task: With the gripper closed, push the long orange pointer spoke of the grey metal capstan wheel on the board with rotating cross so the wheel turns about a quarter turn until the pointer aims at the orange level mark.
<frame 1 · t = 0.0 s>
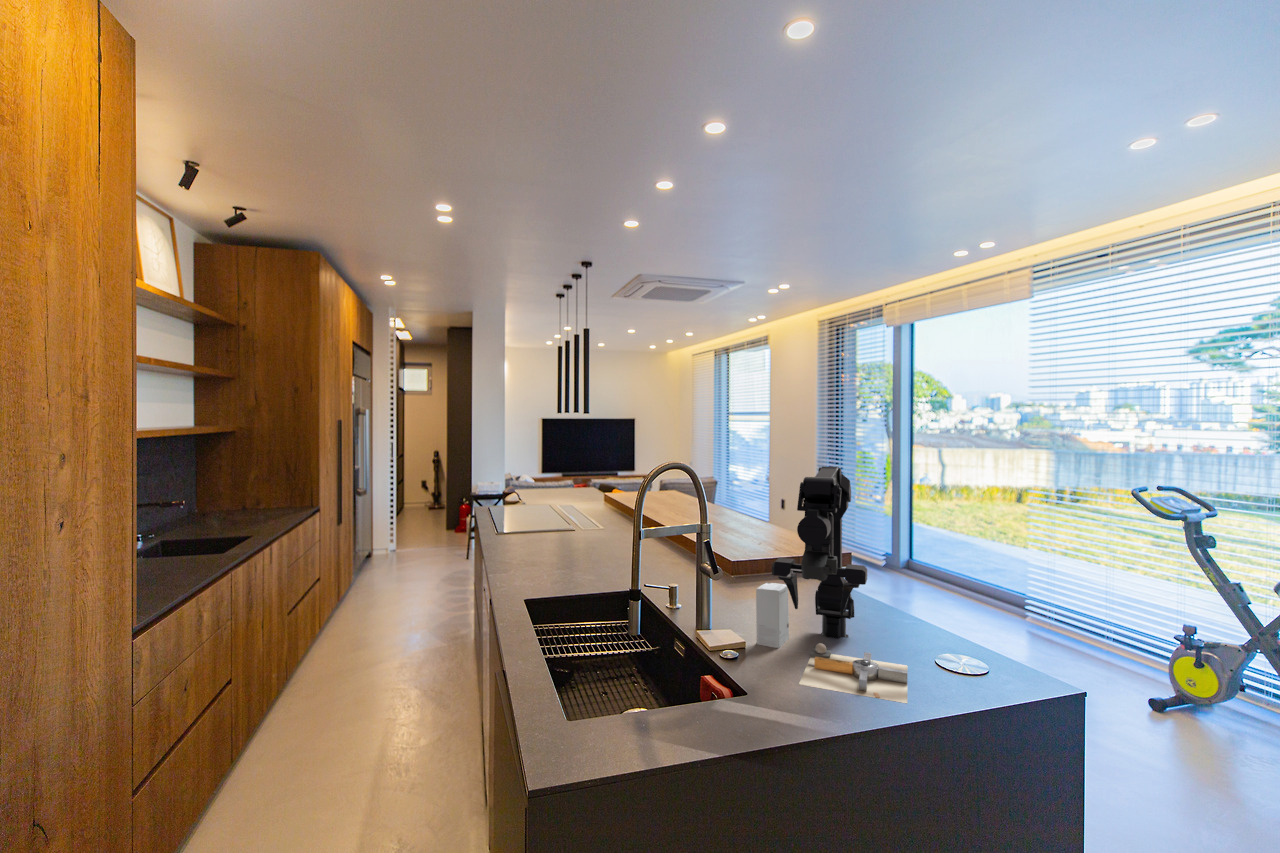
hand: (818, 611, 125), 15 cm above the table, fingers open, 9 cm apart
skincare box: (772, 647, 145), on the table
board with rotating cross: (855, 681, 125), on the table
capstan: (859, 667, 125), point 3 cm above the table, hinge at 0.0°
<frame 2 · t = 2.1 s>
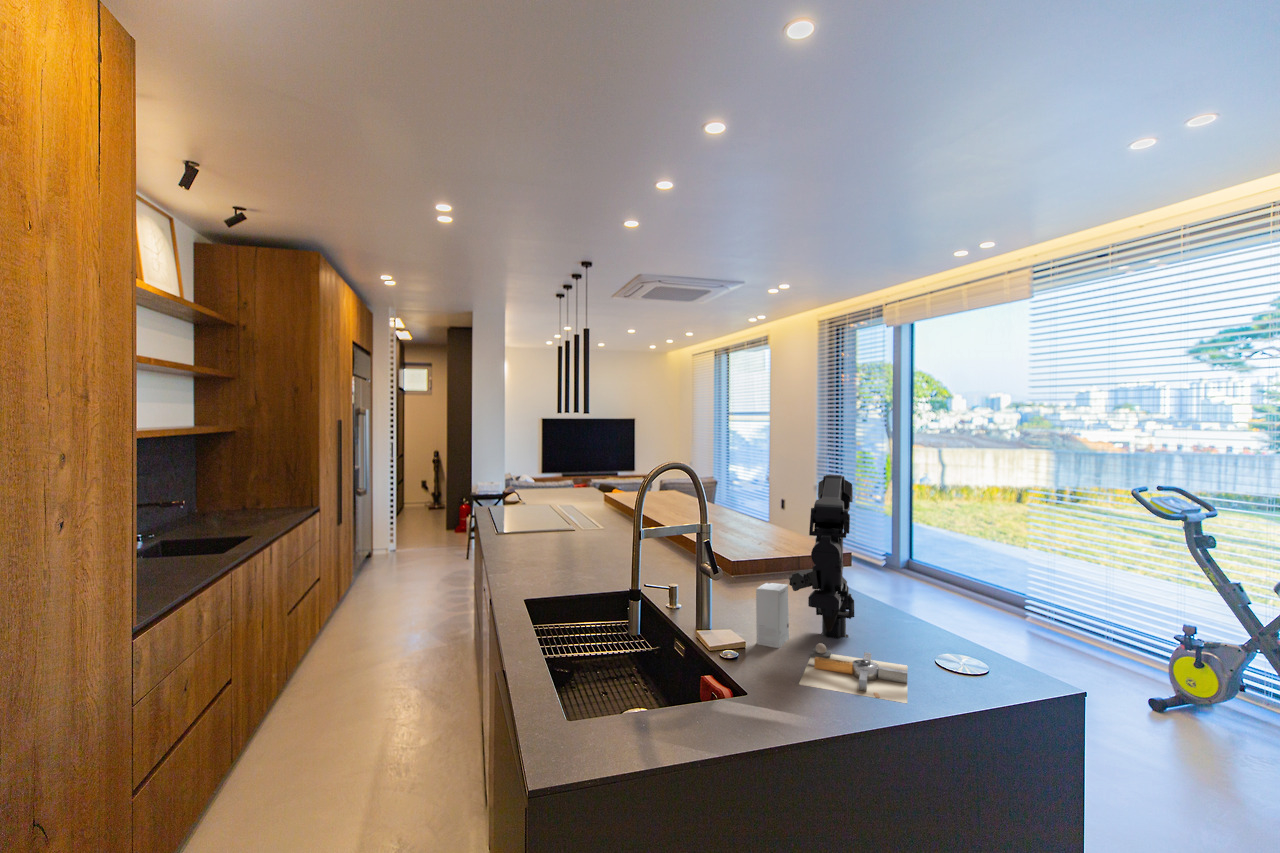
hand: (828, 630, 133), 8 cm above the table, fingers closed
nothing on the table moved.
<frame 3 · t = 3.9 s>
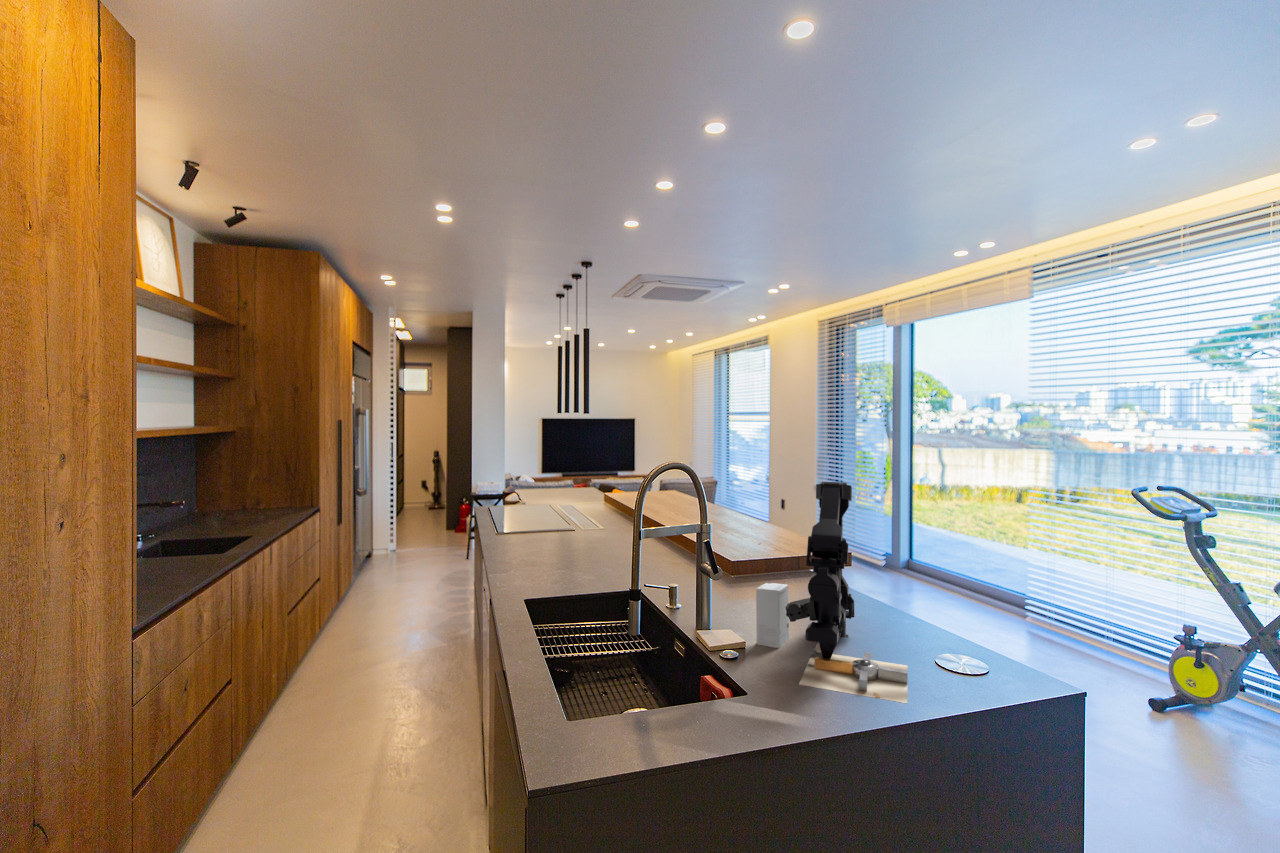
hand: (826, 662, 129), 3 cm above the table, fingers closed
capstan: (859, 667, 125), point 3 cm above the table, hinge at 0.4°, touching gripper
everything else where it was.
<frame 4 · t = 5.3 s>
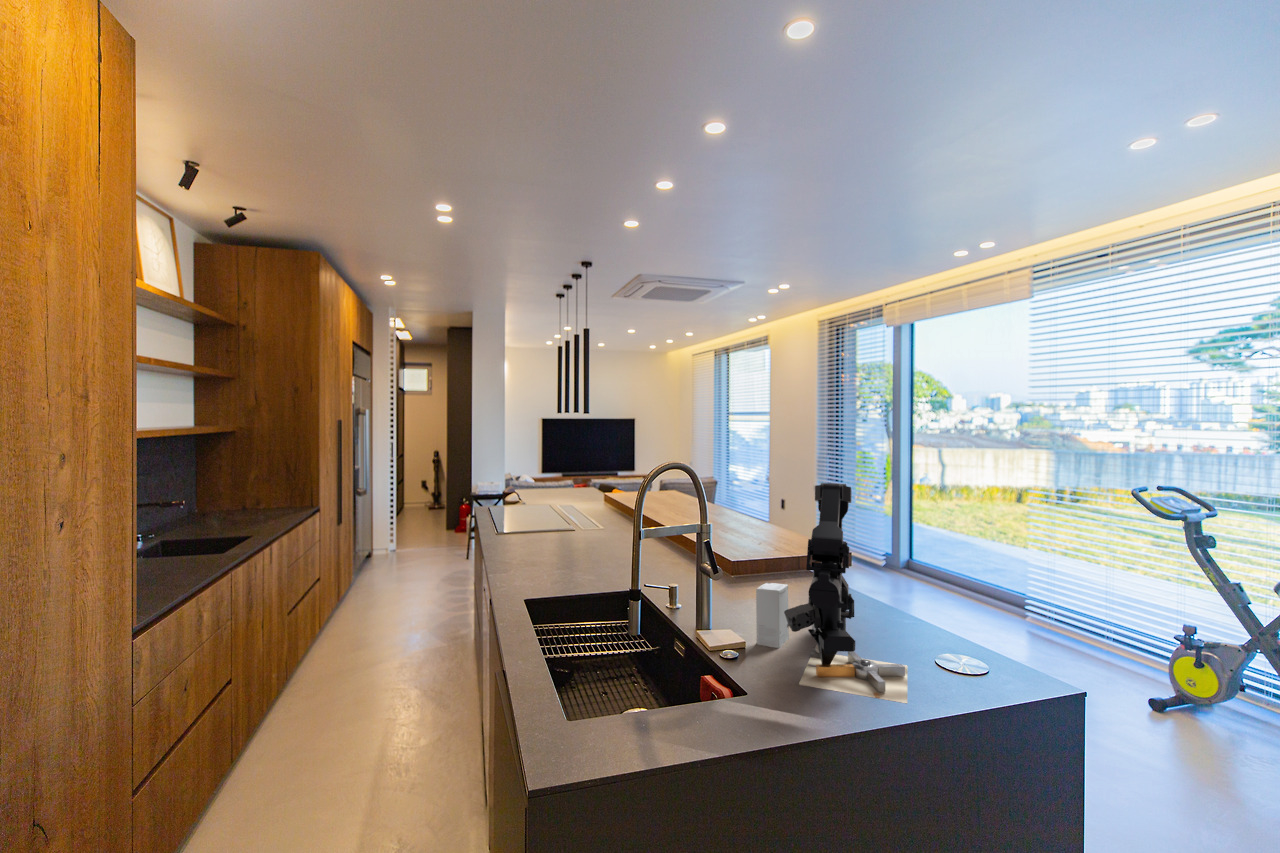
hand: (825, 668, 126), 3 cm above the table, fingers closed
capstan: (860, 668, 125), point 3 cm above the table, hinge at 25.6°, touching gripper
everything else where it was.
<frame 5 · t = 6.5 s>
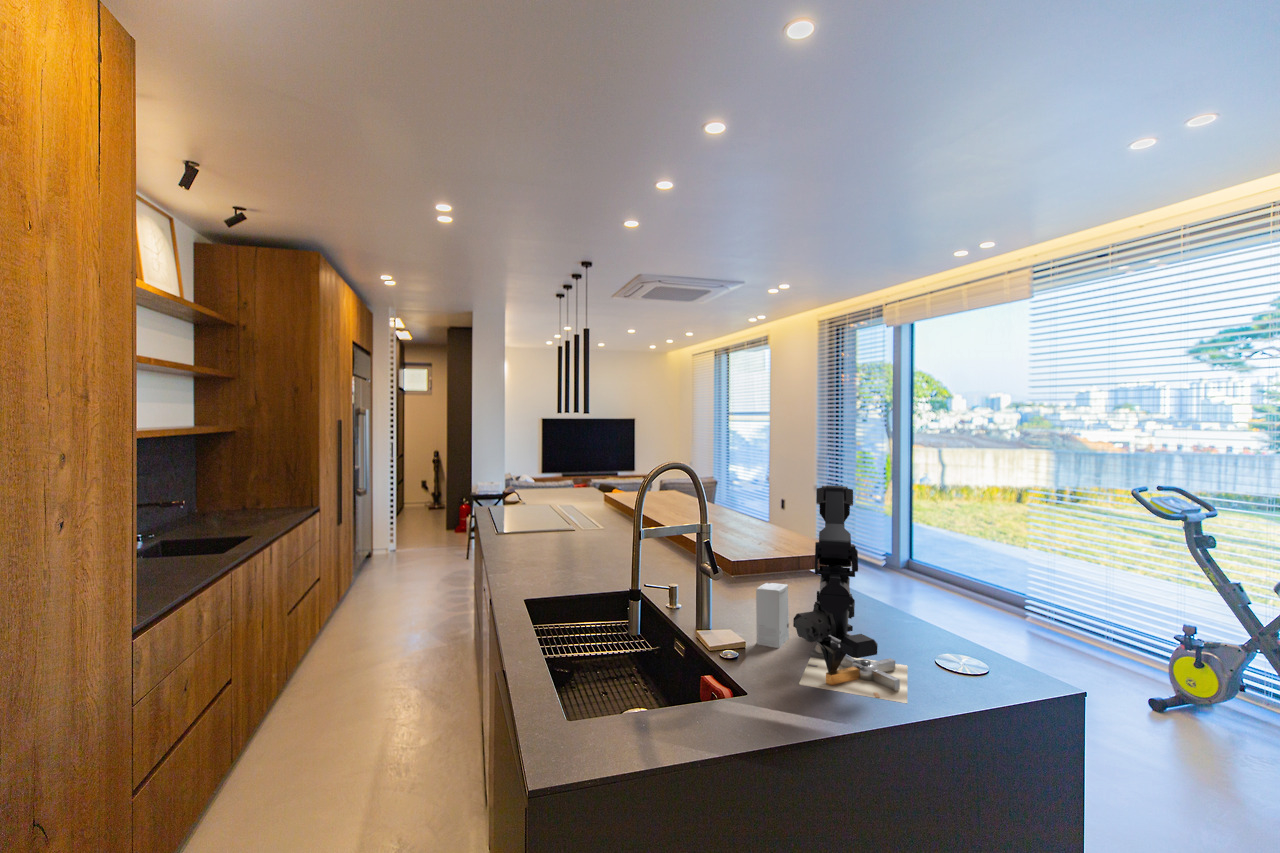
hand: (831, 674, 122), 3 cm above the table, fingers closed
capstan: (861, 669, 124), point 3 cm above the table, hinge at 50.4°, touching gripper
everything else where it was.
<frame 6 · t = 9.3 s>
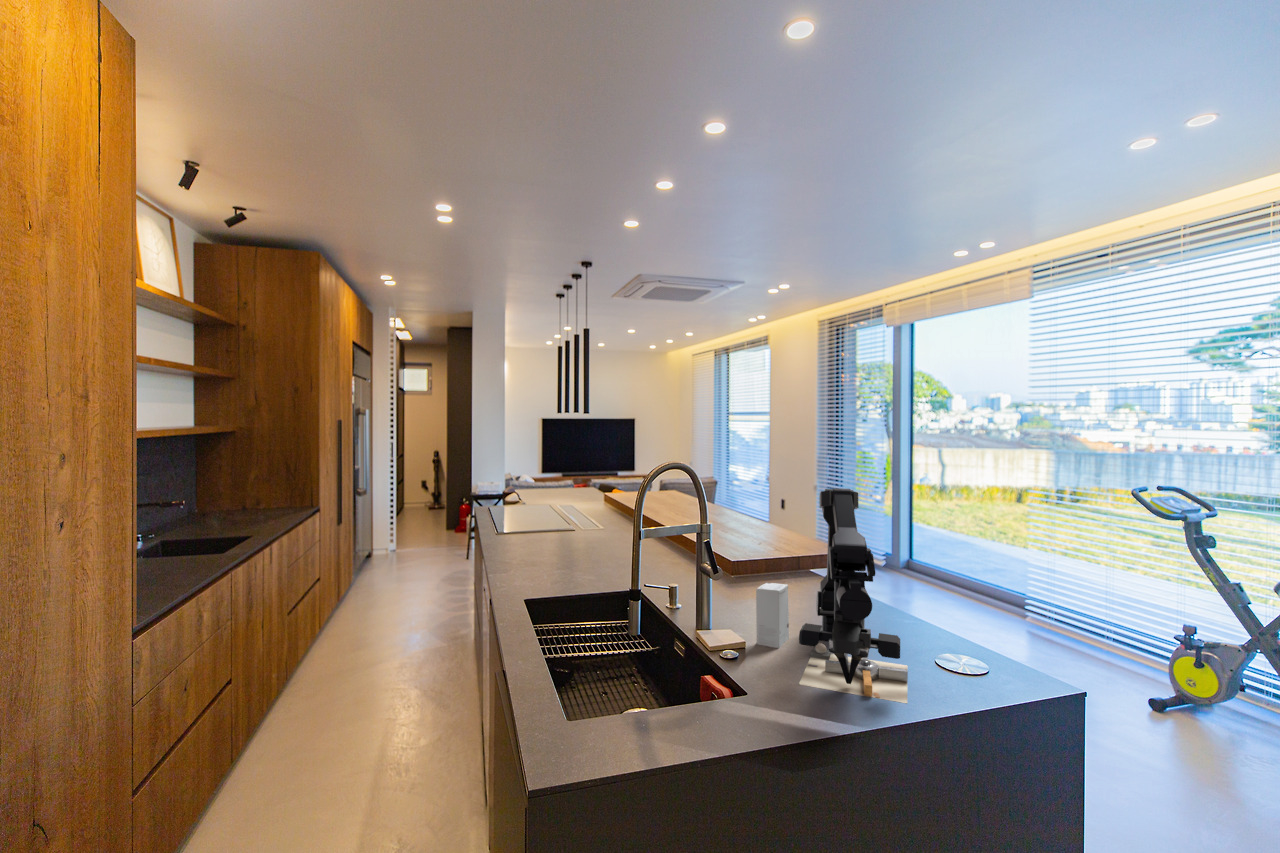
hand: (848, 683, 119), 2 cm above the table, fingers closed
capstan: (865, 670, 124), point 3 cm above the table, hinge at 96.5°
everything else where it was.
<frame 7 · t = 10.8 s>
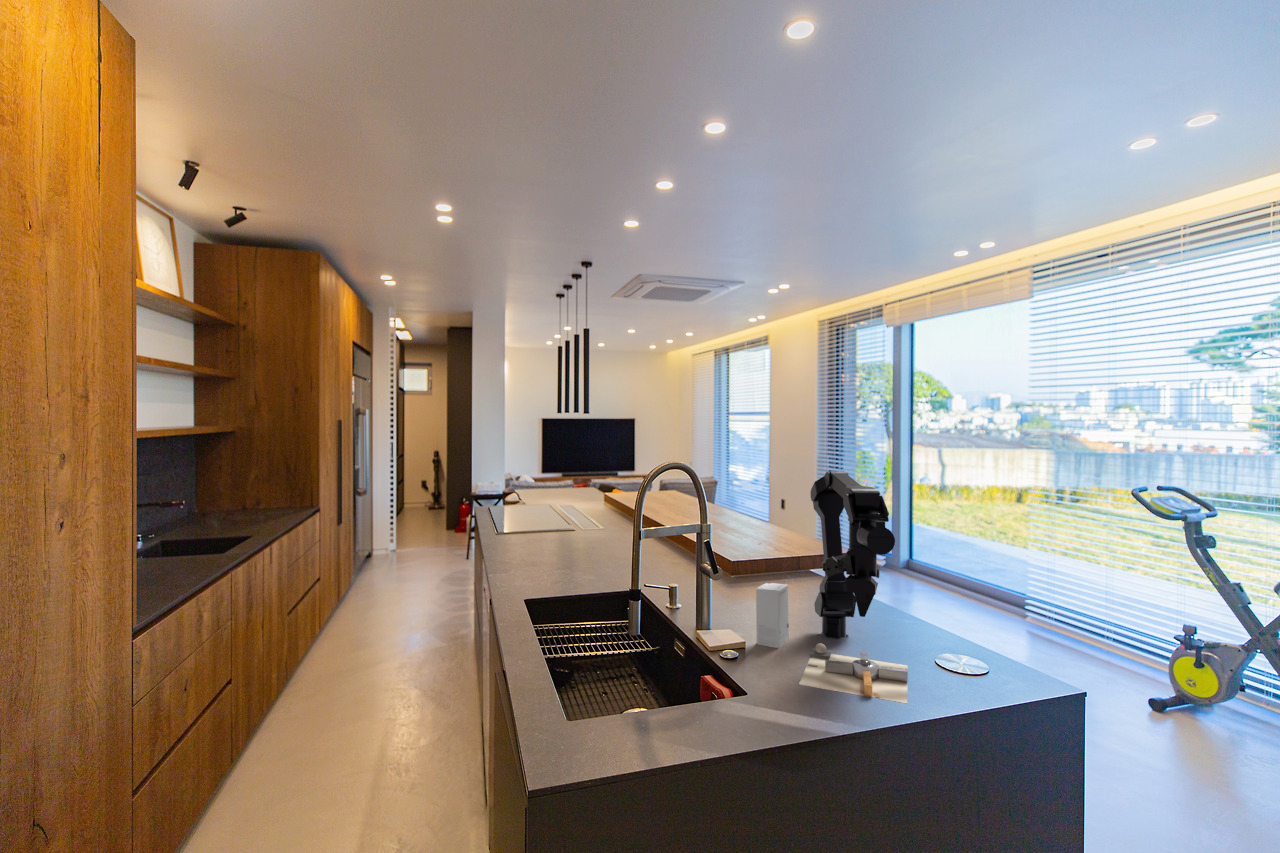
hand: (862, 616, 131), 12 cm above the table, fingers closed
nothing on the table moved.
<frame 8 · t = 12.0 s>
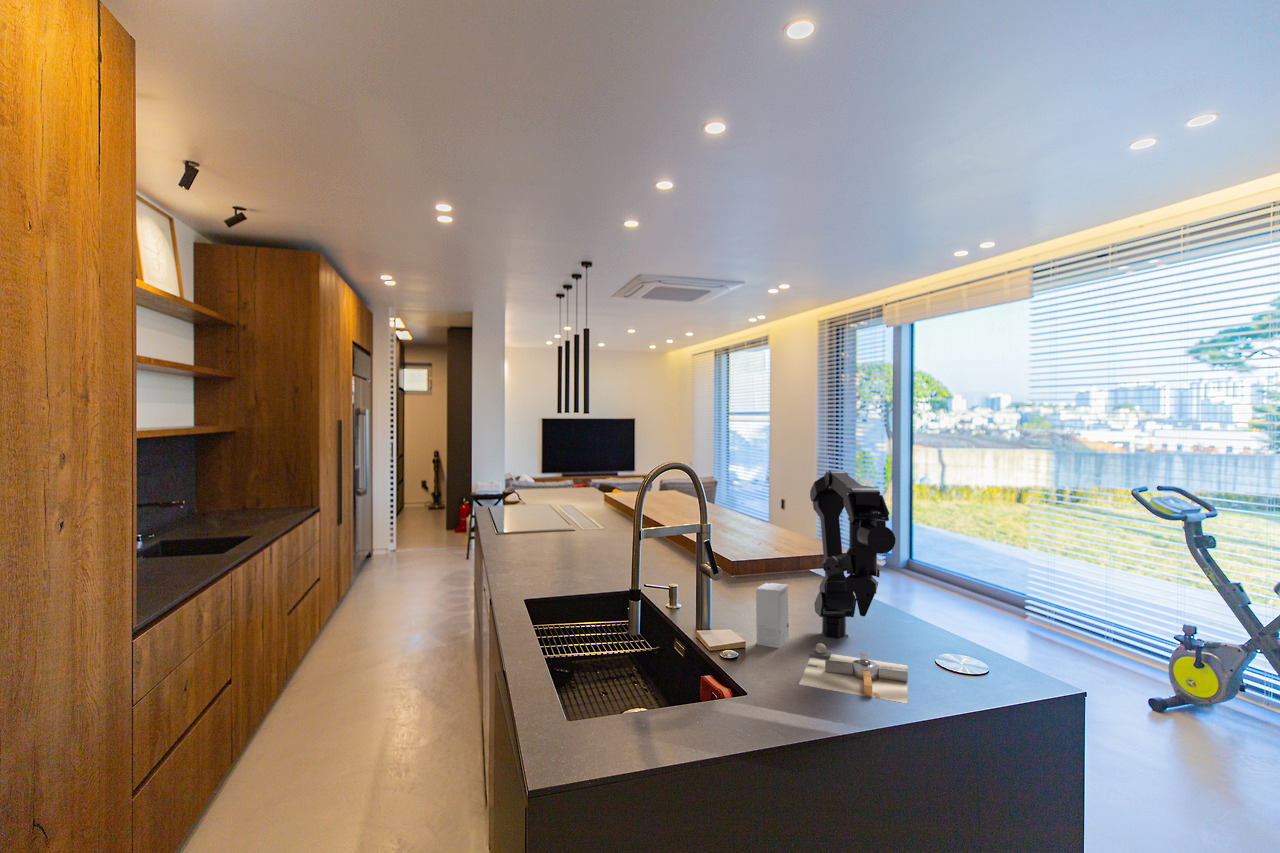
hand: (862, 615, 131), 12 cm above the table, fingers closed
nothing on the table moved.
at the end: capstan at +97° (first picture: +0°) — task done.
